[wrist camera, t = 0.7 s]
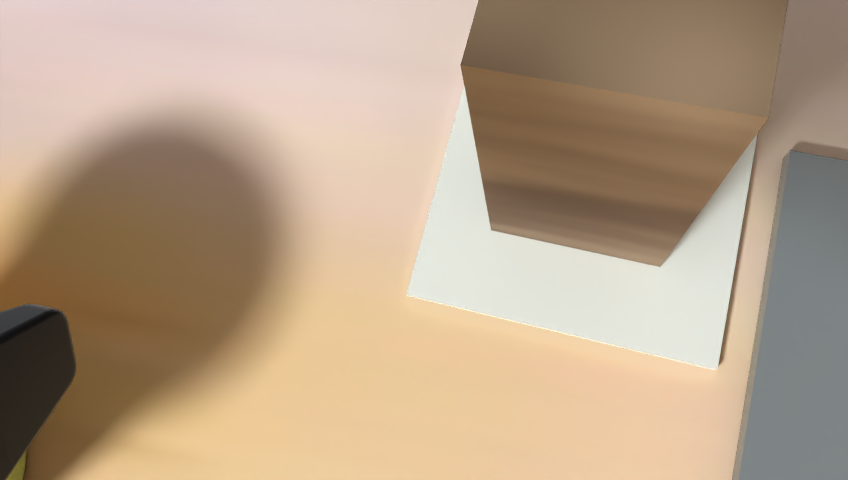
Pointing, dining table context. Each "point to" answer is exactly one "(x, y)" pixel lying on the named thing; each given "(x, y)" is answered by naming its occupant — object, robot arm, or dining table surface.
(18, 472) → the plant pot
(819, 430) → the coaster
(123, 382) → the dining table surface
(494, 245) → the tile
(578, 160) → the block
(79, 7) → the dining table surface
